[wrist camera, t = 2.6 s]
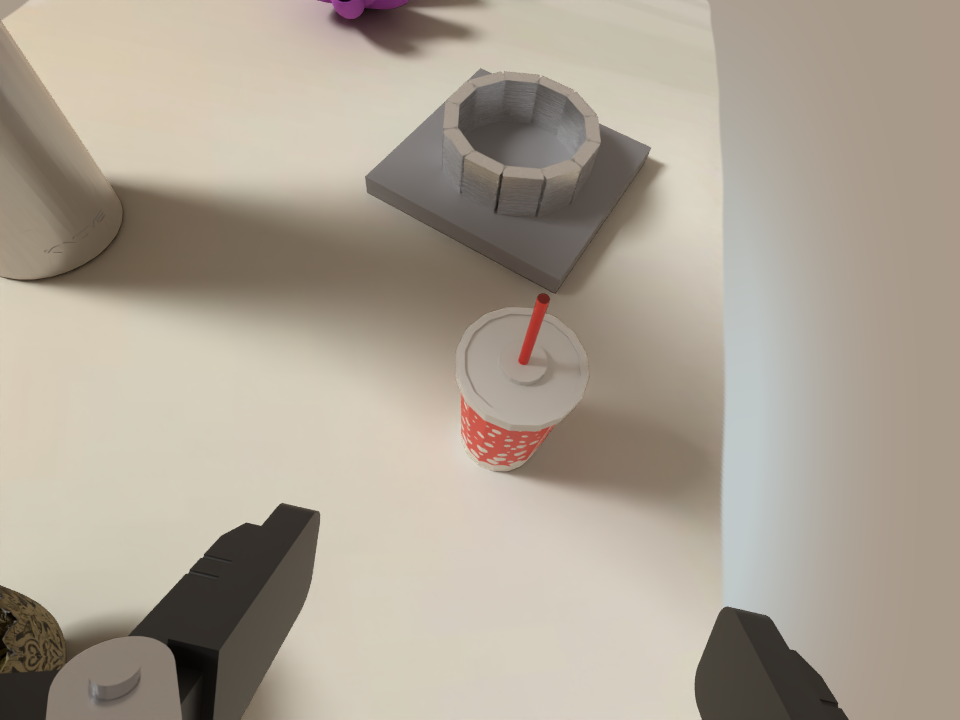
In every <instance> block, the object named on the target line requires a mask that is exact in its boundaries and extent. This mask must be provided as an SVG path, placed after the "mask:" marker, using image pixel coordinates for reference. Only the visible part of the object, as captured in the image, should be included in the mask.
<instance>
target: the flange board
mask: <svg viewBox="0 0 960 720" xmlns="http://www.w3.org/2000/svg"><path fill="white" fill-rule="evenodd" d="M490 74H492V73H490V72H487V71H485V70H483V69H480V70H478V71H477V72H476V73H475V74H474V75H473V76H472V77H471V78H470V79H469V80H471V79H474V78H478V77H482V76H486V75H490ZM469 80H468V81H467V82H469ZM445 102H446V101H445ZM445 102H444V103H443V104H442V105H441V106H440V107H439V108H438V109H437V110H436V111H435V112H434V113H433V114H432V115H430V116H429V117H428V118H427V119H426V120H425V121H424V122H423V123H422V124H421V125H420V126H419V127H418V128H417V129H416V130H415V131H413V132H412V133H411V134H410V135H409V136H408V137H407V138H406V139H405V140H404V141H403V142H402V143H401V144H400V145H399V146H397V147H396V148H395V149H394V150H393V151H392V152H391V153H390V154H389V155H388V156H387V157H386V158H385V159H384V160H383V161H381V162H380V163H379V164H378V165H377V166H376V167H375V168H374V169H373V170H372V171H371V172H370V173H369V174H368V175H367V176H365V179H366V187H367V192H368V193H370V194H371V195H373V196H375V197H377V198H379V199H381V200H383V201H384V202H386V203H388V204H390V205H392V206H394V207H396V208H397V209H399V210H401V211H403V212H405V213H407V214H408V215H410V216H412V217H414V218H416V219H418V220H420V221H421V222H423V223H425V224H427V225H429V226H431V227H433V228H434V229H436V230H438V231H440V232H442V233H444V234H446V235H447V236H449V237H451V238H453V239H455V240H457V241H459V242H460V243H462V244H464V245H466V246H468V247H470V248H472V249H473V250H475V251H477V252H479V253H481V254H483V255H485V256H486V257H488V258H490V259H492V260H494V261H496V262H497V263H499V264H501V265H503V266H505V267H507V268H509V269H510V270H512V271H514V272H516V273H518V274H520V275H522V276H523V277H525V278H527V279H529V280H531V281H533V282H535V283H536V284H538V285H540V286H542V287H544V288H546V289H548V290H549V291H551V292H553V293H556V292H557V290H558V289H559V287H560V286H561V284H562V283H563V281H564V280H565V278H566V277H567V275H568V274H569V273H570V271H571V270H572V268H573V267H574V265H575V264H576V262H577V261H578V259H579V258H580V256H581V255H582V254H583V252H584V251H585V249H586V248H587V246H588V245H589V243H590V242H591V240H592V239H593V237H594V236H595V234H596V233H597V232H598V230H599V229H600V227H601V226H602V224H603V223H604V221H605V220H606V218H607V217H608V215H609V214H610V213H611V211H612V210H613V208H614V207H615V205H616V204H617V202H618V201H619V199H620V198H621V196H622V195H623V193H624V192H625V191H626V189H627V188H628V186H629V185H630V183H631V182H632V180H633V179H634V177H635V176H636V174H637V173H638V172H639V170H640V169H641V167H642V166H643V164H644V163H645V161H646V158H647V156H648V154H649V151H650V149H651V147H649V146H646V145H644V144H642V143H640V142H638V141H636V140H634V139H631V138H629V137H627V136H625V135H623V134H621V133H619V132H616V131H614V130H612V129H610V128H608V127H606V126H603V125H601V124H599V130H600V139H601V143H600V147H599V150H598V152H597V155H596V158H595V161H594V164H593V167H592V170H591V173H590V176H589V179H588V182H587V184H586V185H585V186H584V188H583V189H582V190H581V192H580V193H579V194H578V196H577V197H576V198H575V200H574V201H573V202H572V204H569V206H567V207H564V208H561V209H558V210H556V211H553V212H550V213H547V214H545V215H542V216H539V217H537V215H536V214H535V217H524V216H512V215H500V214H497V210H496V211H495V212H494V213H492V212H490V211H488V210H486V209H484V208H482V207H481V206H479V205H477V204H475V203H473V202H471V201H469V200H467V199H465V198H463V197H462V194H460V195H459V193H458V192H457V191H456V189H455V188H454V186H453V185H452V183H451V182H450V180H449V179H448V177H447V176H446V174H445V173H444V171H443V168H442V149H443V124H444V113H445ZM465 138H466V139H467V141H468V142H469V144H470V145H471V146H472V148H473V149H474V150H475V151H477V152H479V153H481V154H483V155H485V156H487V157H489V158H491V159H493V160H495V161H497V162H499V163H501V164H503V165H505V166H515V167H526V168H538V169H542V168H545V167H548V166H551V165H554V164H557V163H560V162H563V161H566V160H569V159H572V157H573V155H572V154H571V153H570V152H569V150H568V149H567V148H566V147H565V146H564V144H563V143H562V142H561V141H560V140H559V138H558V137H557V136H556V135H554V134H551V133H549V132H547V131H545V130H543V129H541V128H539V127H537V126H535V125H533V124H531V123H521V122H511V121H497V122H493V123H490V124H487V125H483V126H480V127H476V128H473V129H472V130H471V131H470V132H469V133H468V135H467V136H466V137H465Z"/></svg>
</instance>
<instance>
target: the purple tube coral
mask: <svg viewBox="0 0 960 720" xmlns="http://www.w3.org/2000/svg"><path fill="white" fill-rule="evenodd" d="M318 1H322V2H327V3H332V4H333V6H334V8H335V10H336V11H337V13H338V14H339V15H341V16H343V17H344V18H347V19H355V18H357V17H359V16H360V15H361V14H362V12H363V10H364V8H370V9H394V8H397V7H399V6H402V5H404V4H406V3H407V2H408V1H410V0H318Z"/></svg>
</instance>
